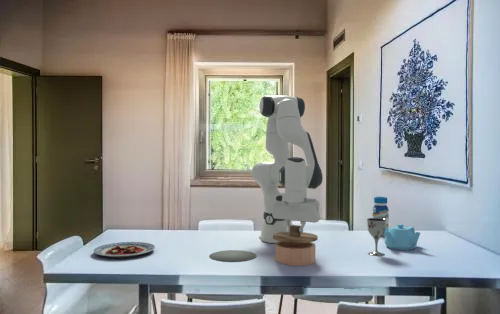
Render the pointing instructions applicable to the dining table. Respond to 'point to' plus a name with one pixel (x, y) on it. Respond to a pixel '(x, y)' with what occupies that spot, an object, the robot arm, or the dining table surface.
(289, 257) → the bowl
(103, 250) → the ceramic plate
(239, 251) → the tray
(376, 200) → the beverage bottle
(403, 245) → the teapot
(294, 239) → the lid
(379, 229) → the wine glass
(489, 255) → the dining table surface
